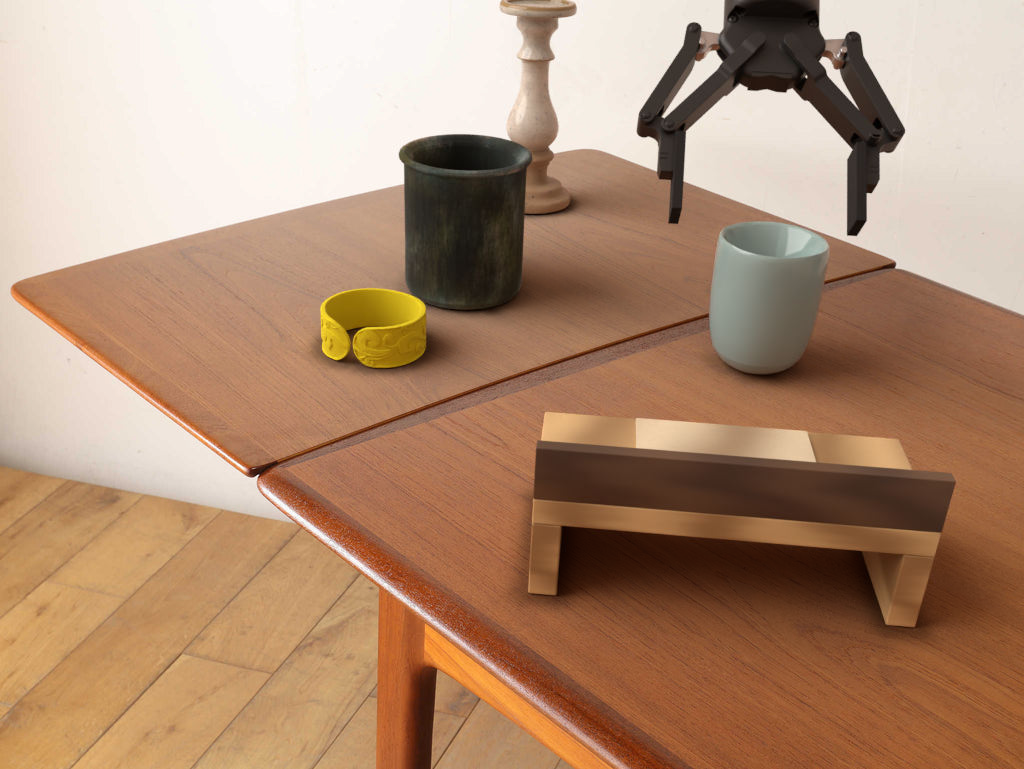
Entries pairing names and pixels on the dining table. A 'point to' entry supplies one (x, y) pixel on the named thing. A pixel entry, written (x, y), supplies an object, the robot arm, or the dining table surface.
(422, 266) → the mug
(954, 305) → the dining table surface
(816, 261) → the cup
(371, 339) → the bracelet
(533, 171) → the candle holder
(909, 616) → the shelf
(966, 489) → the dining table surface
